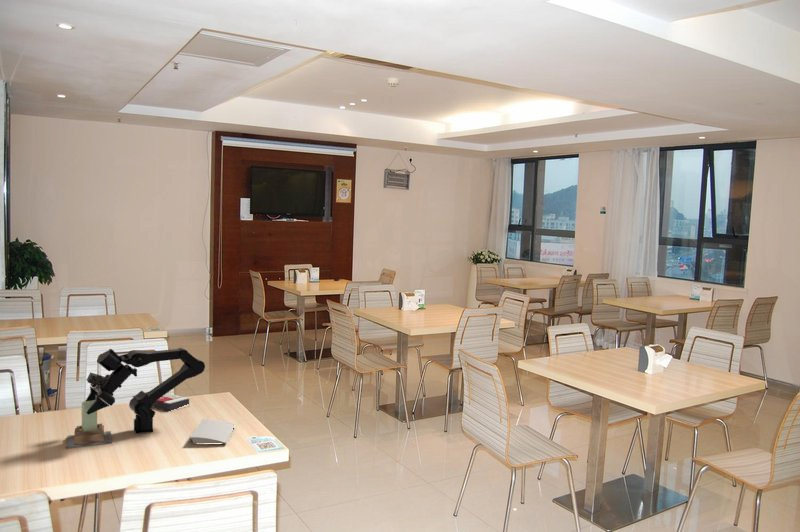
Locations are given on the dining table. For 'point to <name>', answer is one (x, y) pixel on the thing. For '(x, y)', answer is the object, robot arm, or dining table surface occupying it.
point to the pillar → (88, 417)
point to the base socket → (88, 437)
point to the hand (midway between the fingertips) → (85, 410)
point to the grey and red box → (171, 402)
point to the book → (212, 431)
